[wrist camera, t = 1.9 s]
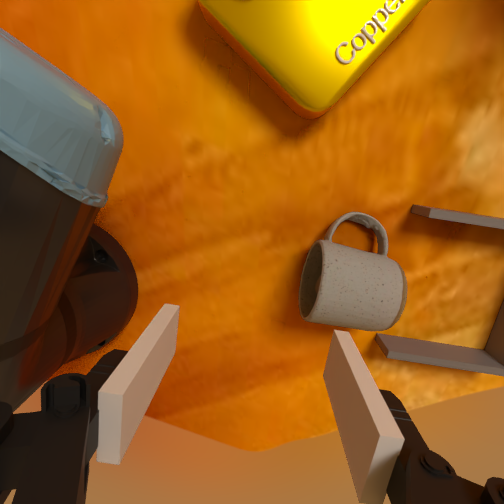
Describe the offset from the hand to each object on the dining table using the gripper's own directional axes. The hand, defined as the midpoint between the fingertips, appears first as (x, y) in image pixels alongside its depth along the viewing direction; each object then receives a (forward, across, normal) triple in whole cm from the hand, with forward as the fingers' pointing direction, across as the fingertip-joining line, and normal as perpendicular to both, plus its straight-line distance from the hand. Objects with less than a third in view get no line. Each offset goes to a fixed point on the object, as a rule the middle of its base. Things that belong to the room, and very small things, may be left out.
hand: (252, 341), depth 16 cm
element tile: (+18, +1, +23) cm, 29 cm away
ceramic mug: (+18, +9, 0) cm, 20 cm away
